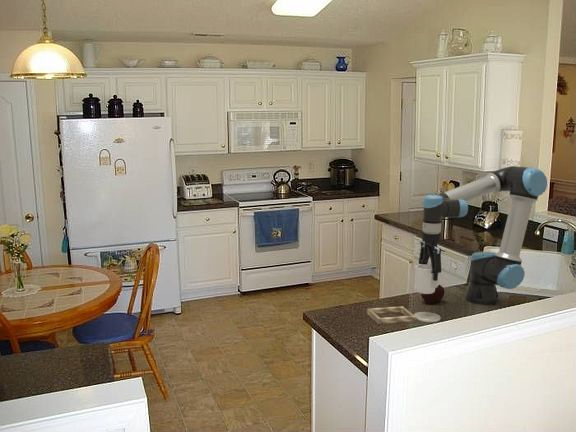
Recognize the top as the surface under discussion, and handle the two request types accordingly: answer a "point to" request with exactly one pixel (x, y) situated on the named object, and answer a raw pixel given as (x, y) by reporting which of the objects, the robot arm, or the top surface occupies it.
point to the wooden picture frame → (407, 318)
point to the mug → (424, 279)
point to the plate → (427, 317)
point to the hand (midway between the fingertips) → (428, 284)
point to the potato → (434, 295)
